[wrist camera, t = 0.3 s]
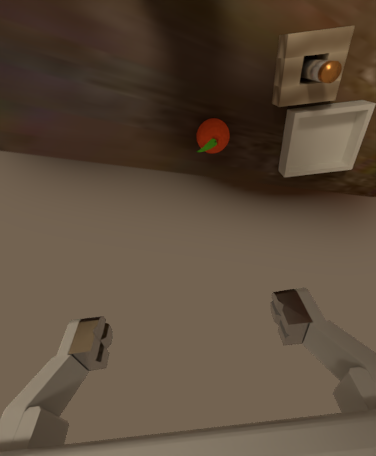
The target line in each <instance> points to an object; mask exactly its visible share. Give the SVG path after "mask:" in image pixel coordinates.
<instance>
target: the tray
mask: <svg viewBox="0 0 376 456" xmlns="http://www.w3.org/2000/svg"><path fill="white" fill-rule="evenodd" d="M375 104H376V103H372V102H368V101H365V100H358V101H350V102H342V103H334V104H325V105H317V106H309V107H301V108H293V109H287V115H286V121H285V128H284V134H283V141H282V147H281V154H280V161H279V167H278V171H279V172H280V173H281V174H282V176H283V177H292V176H301V175H309V174H318V173H326V172H335V171H343V170H352V168H353V165H354V162H355V159H356V156H357V154H358V151H359V148H360V145H361V143H362V140H363V137H364V134H365V132H366V129H367V126H368V123H369V121H370V118H371V115H372V112H373V110H374V107H375Z"/></svg>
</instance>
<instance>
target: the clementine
mask: <svg viewBox="0 0 376 456" xmlns="http://www.w3.org/2000/svg"><path fill="white" fill-rule="evenodd" d="M229 137H230V134H229V129H228V127H227V125H226V124H225V123H224V122H223V121H222V120H220V119H217V118H210V119H207V120H206V121H204V122H203V123H202V124H201V125H200V127H199V128H198V131H197V142H198V145H199V146H200V148H201V149H200V150H199V151H196V152H204V151H205V152H207V153H211V154H212V153H218V152H220V151H222V150H223V149H224V148H225V147H226V146H227V144H228V142H229Z"/></svg>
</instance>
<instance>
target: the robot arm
mask: <svg viewBox="0 0 376 456" xmlns="http://www.w3.org/2000/svg"><path fill="white" fill-rule="evenodd" d="M272 299H273V301H272V302H271V313H272V316H273V319H274V321H275V323H277V324H278V325H279V329H278V332H279V335H280V337H281V340H282V342H283V345H292V344H302V343H303V345H304V346H305V347H306V348H307V349H308V350H309V351H310V352H311V353H312V354H313V355H314V356H315V357H316V358H317V359H318V360H319V361H320V362H321V363H322V364H323V365H324V366H325V367H326V368H327V369H329V370H330V371H331V372H332V373H333V374H334V375H335V376H336V377H337V378H338V379H339V380H340V383H339V384H338V386H337V387H336V388H335V390H334V392H333V395H334V397H335V399H336V401H337V403H338V406H339V408H340V410H341V412H342V413H336V414H327V415H318V416H309V417H300V418H292V419H284V420H275V421H266V422H257V423H248V424H239V425H230V426H222V427H214V428H205V429H196V430H187V431H179V432H170V433H161V434H152V435H144V436H134V437H126V438H117V439H108V440H99V441H91V442H82V443H73V444H64V442H65V438H66V435H67V431H68V426H69V423H68V422H67V421H66V420H64V419H62V418H60V417H59V416H60V415H61V413H62V412H63V410H64V409H65V407H66V406H67V404H68V403H69V401H70V400H71V398H72V397H73V395H74V394H75V392H76V391H77V389H78V388H79V386H80V385H81V383H82V382H83V380H84V379H85V377H86V376H87V374H88V373H89V371H91V370H98V369H104V368H106V367H107V362H108V357H109V352H108V350H107V348H108V347H109V346H110V345H111V342H112V329H111V326H110V325H109V324H107V323H105V322H106V319H105V318H104V317H103V316H100V317H93V318H85V319H77V320H72V321H70V323H69V324H68V326H67V329H66V332H65V334H64V337H63V340H62V342H61V345H60V347H59V350H58V353H57V356H55V357H53V358H52V359H51V360H50V361H49V362H48V363H47V364H46V365H45V366H44V367H43V368H42V370H41V371H40V372H39V373H38V374H37V375H36V376H35V377H34V378H33V379H32V380H31V381H30V383H29V384H28V385H27V386H26V387H25V388H24V389H23V390H22V391H21V392H20V393H19V395H18V396H17V397H16V398H15V399H14V400H13V401H12V402H11V403H10V404H9V405H8V406H7V408H6V409H5V410H4V413H3V415H2V417H1V419H0V456H376V353H375V352H374V351H372V350H371V349H370V348H368V347H367V346H365V345H364V344H362V343H361V342H359V341H358V340H357V339H355V338H354V337H352V336H351V335H350V334H348V333H347V332H345V331H344V330H343V329H341V328H340V327H338V326H337V325H335V324H334V323H333V322H331V321H326V320H325V318H324V316H323V314H322V313H321V311H320V309H319V307H318V306H317V304H316V302H315V301H314V299H313V297H312V295H311V294H310V292H309V290H308V289H306V288H300V289H291V290H284V291H279V292H273V293H272Z"/></svg>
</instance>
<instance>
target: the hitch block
mask: <svg viewBox="0 0 376 456" xmlns="http://www.w3.org/2000/svg"><path fill="white" fill-rule="evenodd" d="M354 27H355V26H348V27H340V28H333V29H325V30H317V31H309V32H301V33H293V34H286V35H279V44H278V53H277V62H276V71H275V80H274V89H273V98H272V104H274V105H276V106H278V107H284V106H292V105H300V104H308V103H317V102H325V101H333V100H335V99H336V95H337V91H338V87H339V84H340V80H341V76H342V72H343V68H344V65H345V61H346V57H347V53H348V49H349V46H350V42H351V38H352V34H353V30H354ZM310 55H317V59H316V60H331V61H338V62H340V63H341V66H342V70H341V74H340V76H339V77H338V78H337V79H336V80H335V81H334V82H332V83H323V82H319V81H314V80H310V81H302V82H300V77H301V71H302V65H303V60H304V56H310Z"/></svg>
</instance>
